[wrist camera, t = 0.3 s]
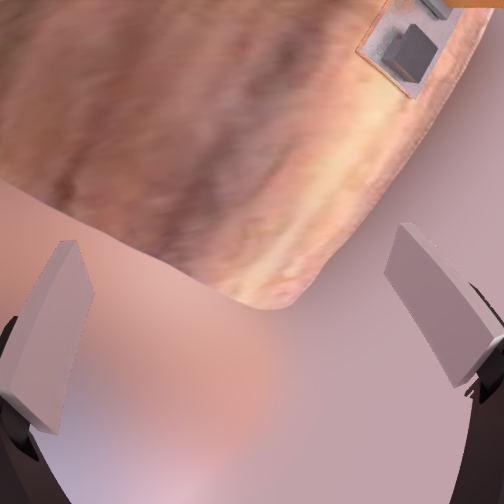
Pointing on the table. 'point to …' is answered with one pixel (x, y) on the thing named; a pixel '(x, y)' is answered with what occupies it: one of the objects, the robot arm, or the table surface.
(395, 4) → the base
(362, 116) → the table surface
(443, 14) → the handle
